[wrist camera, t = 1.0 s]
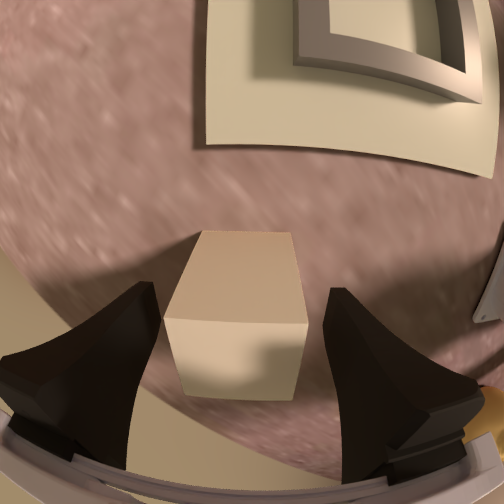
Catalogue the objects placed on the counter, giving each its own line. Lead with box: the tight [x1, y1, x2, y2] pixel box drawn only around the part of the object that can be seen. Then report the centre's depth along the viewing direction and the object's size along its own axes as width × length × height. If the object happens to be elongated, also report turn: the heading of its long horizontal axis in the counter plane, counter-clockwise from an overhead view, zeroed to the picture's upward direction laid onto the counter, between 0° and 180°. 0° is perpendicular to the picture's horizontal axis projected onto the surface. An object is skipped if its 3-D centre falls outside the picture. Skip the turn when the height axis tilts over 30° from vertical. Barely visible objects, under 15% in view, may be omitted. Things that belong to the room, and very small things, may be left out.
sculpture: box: [462, 386, 504, 462], centre depth 17 cm, size 12×12×11 cm
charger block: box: [163, 231, 309, 401], centre depth 11 cm, size 4×4×6 cm
